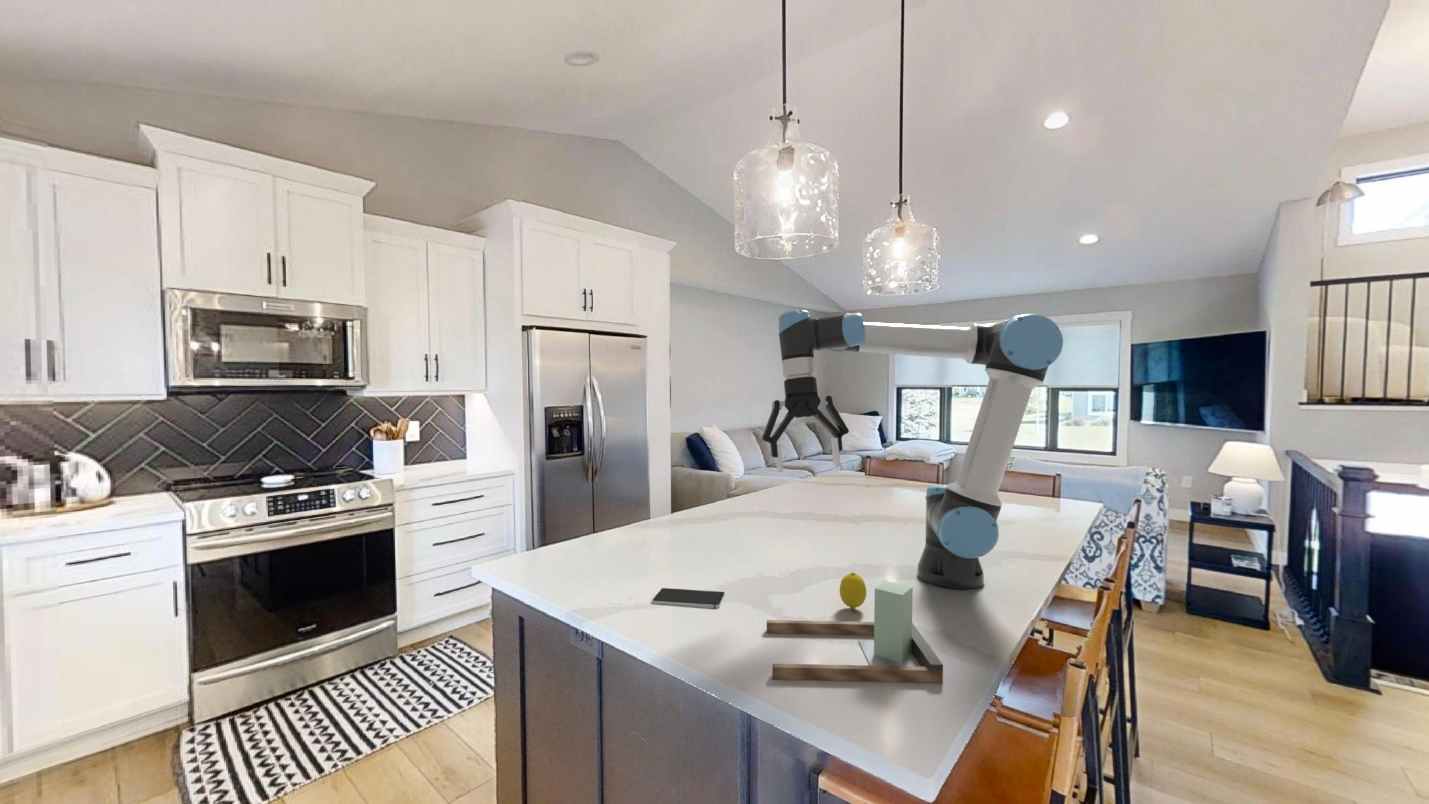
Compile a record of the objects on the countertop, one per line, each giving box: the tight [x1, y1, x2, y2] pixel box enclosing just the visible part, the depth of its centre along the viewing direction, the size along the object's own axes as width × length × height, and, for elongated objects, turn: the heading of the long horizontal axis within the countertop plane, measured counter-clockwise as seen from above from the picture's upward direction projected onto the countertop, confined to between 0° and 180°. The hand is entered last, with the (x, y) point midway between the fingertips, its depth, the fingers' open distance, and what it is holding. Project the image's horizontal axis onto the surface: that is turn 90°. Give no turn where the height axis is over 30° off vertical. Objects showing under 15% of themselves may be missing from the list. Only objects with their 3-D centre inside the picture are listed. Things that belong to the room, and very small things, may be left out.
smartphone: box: [652, 587, 726, 609], centre depth 127 cm, size 8×1×15 cm
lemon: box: [839, 571, 867, 610], centre depth 121 cm, size 6×6×8 cm
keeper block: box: [873, 580, 914, 664], centre depth 101 cm, size 5×5×12 cm
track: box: [766, 619, 944, 684], centre depth 101 cm, size 28×18×3 cm, turn 88°
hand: (808, 468), depth 131 cm, fingers open, 13 cm apart
